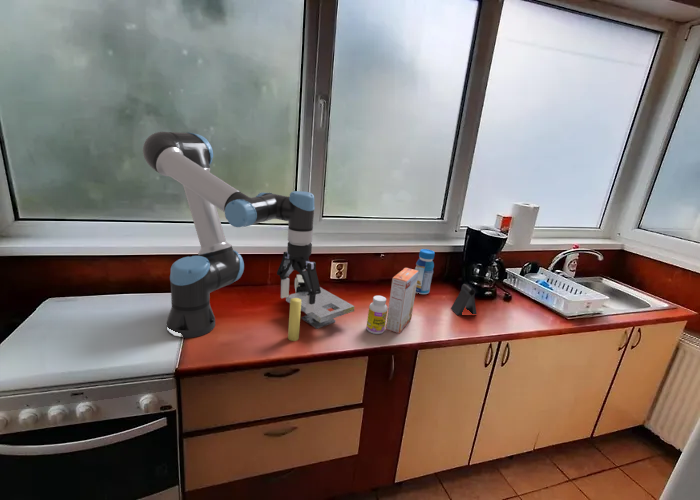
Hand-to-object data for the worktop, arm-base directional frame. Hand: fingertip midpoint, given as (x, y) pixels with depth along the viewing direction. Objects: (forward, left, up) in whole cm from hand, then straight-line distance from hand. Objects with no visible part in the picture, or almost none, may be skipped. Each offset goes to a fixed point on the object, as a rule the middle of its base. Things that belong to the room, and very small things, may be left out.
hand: (296, 304), depth 124 cm
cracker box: (+39, -14, -13) cm, 43 cm away
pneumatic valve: (+18, +20, -13) cm, 30 cm away
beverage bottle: (+74, +1, -13) cm, 75 cm away
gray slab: (+15, +5, -13) cm, 20 cm away
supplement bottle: (+28, -12, -13) cm, 33 cm away
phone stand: (+72, -23, -13) cm, 76 cm away
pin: (0, 0, -13) cm, 13 cm away
